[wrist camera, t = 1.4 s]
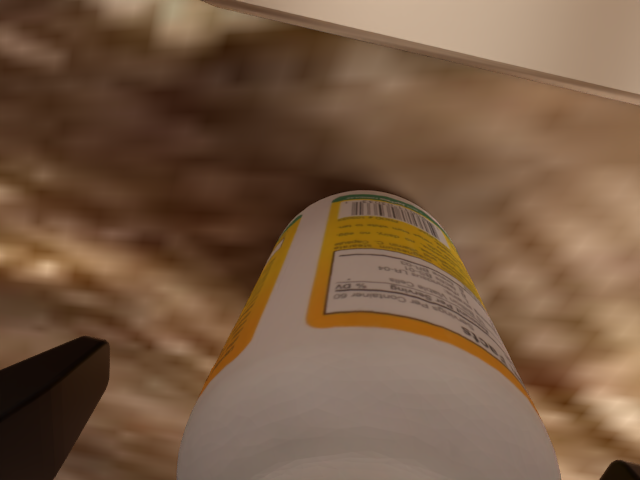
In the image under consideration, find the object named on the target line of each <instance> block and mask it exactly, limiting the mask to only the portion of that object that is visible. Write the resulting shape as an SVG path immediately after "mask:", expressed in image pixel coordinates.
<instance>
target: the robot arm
mask: <svg viewBox="0 0 640 480" xmlns="http://www.w3.org/2000/svg"><path fill="white" fill-rule="evenodd" d="M109 369H110V346H109V343H108V342H107V341H106V340H103V339H99V338H95V337H90V336H82V337H79V338H76V339H74V340H72V341H69V342H67V343H64V344H62V345H60V346H57V347H55V348H52V349H50V350H48V351H45V352H43V353H40V354H38V355H35V356H33V357H31V358H28V359H26V360H23V361H21V362H19V363H16V364H14V365H11V366H9V367H7V368H4V369H2V370H0V480H53V479H54V478H55V476H56V474H57V473H58V471H59V470H60V468H61V466H62V465H63V463H64V461H65V460H66V458H67V456H68V454H69V453H70V451H71V449H72V447H73V446H74V444H75V442H76V440H77V439H78V437H79V435H80V433H81V432H82V430H83V428H84V426H85V425H86V423H87V421H88V419H89V418H90V416H91V414H92V413H93V411H94V409H95V407H96V406H97V404H98V402H99V400H100V399H101V397H102V395H103V393H104V392H105V390H106V387H107V385H108V381H109ZM599 480H640V465H639V464H636V463H632V462H627V461H623V460H616V461H613V462H612V463H611V464H610V465H609V467H608V468H607V469H606V471H605V472H604V474H603V475H602V477H601V478H600V479H599Z"/></svg>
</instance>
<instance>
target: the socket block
mask: <svg viewBox="0 0 640 480" xmlns="http://www.w3.org/2000/svg"><path fill="white" fill-rule="evenodd" d="M202 1H204V2H206V3H209V4H211V5H213V6H216V7H219V8H224V9H228V10H232V11H236V12H241V13H245V14H249V15H254V16H258V17H262V18H267V19H271V20H275V21H279V22H284V23H288V24H292V25H297V26H301V27H305V28H309V29H314V30H318V31H322V32H327V33H331V34H335V35H339V36H344V37H348V38H352V39H357V40H361V41H365V42H369V43H374V44H378V45H382V46H387V47H391V48H395V49H399V50H404V51H408V52H412V53H417V54H421V55H425V56H430V57H434V58H438V59H442V60H447V61H451V62H455V63H460V64H464V65H468V66H472V67H477V68H481V69H485V70H490V71H494V72H498V73H502V74H507V75H511V76H515V77H520V78H524V79H528V80H532V81H537V82H541V83H545V84H550V85H554V86H558V87H562V88H567V89H571V90H575V91H580V92H584V93H588V94H592V95H597V96H601V97H605V98H610V99H614V100H618V101H623V102H627V103H631V104H635V105H640V0H202Z"/></svg>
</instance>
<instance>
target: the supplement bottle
mask: <svg viewBox="0 0 640 480" xmlns="http://www.w3.org/2000/svg"><path fill="white" fill-rule="evenodd" d="M177 480H561V474H560V470H559V466H558V462H557V458H556V454H555V451H554V448H553V446H552V443H551V441H550V438H549V436H548V433H547V431H546V428H545V426H544V424H543V422H542V420H541V418H540V416H539V414H538V412H537V410H536V408H535V406H534V404H533V402H532V400H531V398H530V396H529V394H528V392H527V390H526V388H525V386H524V384H523V382H522V380H521V378H520V376H519V374H518V373H517V371H516V369H515V366H514V364H513V362H512V360H511V358H510V356H509V354H508V352H507V350H506V348H505V346H504V344H503V342H502V340H501V338H500V336H499V334H498V333H497V331H496V329H495V326H494V324H493V323H492V321H491V319H490V317H489V315H488V313H487V311H486V309H485V307H484V305H483V303H482V300H481V298H480V296H479V294H478V292H477V290H476V288H475V286H474V284H473V282H472V280H471V278H470V276H469V275H468V273H467V271H466V269H465V267H464V265H463V263H462V261H461V259H460V257H459V255H458V253H457V251H456V249H455V247H454V245H453V243H452V241H451V239H450V238H449V236H448V235H447V233H446V232H445V230H444V229H443V228H442V227H441V225H440V224H439V223H438V222H437V221H436V220H435V219H434V218H433V217H432V216H431V215H430V214H429V213H428V212H426V211H425V210H423V209H422V208H421V207H419V206H418V205H416V204H414V203H412V202H410V201H408V200H406V199H404V198H401V197H399V196H396V195H392V194H389V193H385V192H379V191H372V190H356V191H348V192H343V193H339V194H335V195H332V196H329V197H326V198H324V199H321V200H319V201H317V202H315V203H313V204H312V205H310V206H308V207H307V208H306V209H304V210H303V211H302V212H300V213H299V214H298V215H297V216H296V217H295V218H294V219H293V220H292V221H291V222H290V223H289V224H288V226H287V227H286V228H285V230H284V231H283V233H282V234H281V236H280V237H279V239H278V241H277V243H276V245H275V247H274V249H273V251H272V253H271V255H270V257H269V259H268V260H267V262H266V265H265V267H264V269H263V271H262V273H261V275H260V277H259V279H258V281H257V283H256V285H255V287H254V289H253V291H252V293H251V295H250V297H249V299H248V301H247V303H246V305H245V307H244V309H243V311H242V313H241V315H240V317H239V319H238V321H237V323H236V325H235V327H234V328H233V330H232V332H231V334H230V336H229V338H228V340H227V342H226V344H225V346H224V348H223V349H222V351H221V354H220V356H219V358H218V360H217V361H216V363H215V365H214V366H213V368H212V369H211V372H210V375H209V376H208V378H207V380H206V382H205V384H204V387H203V389H202V391H201V393H200V395H199V397H198V400H197V402H196V404H195V406H194V408H193V410H192V413H191V415H190V418H189V420H188V423H187V425H186V428H185V431H184V434H183V438H182V441H181V446H180V450H179V454H178V465H177Z"/></svg>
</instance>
